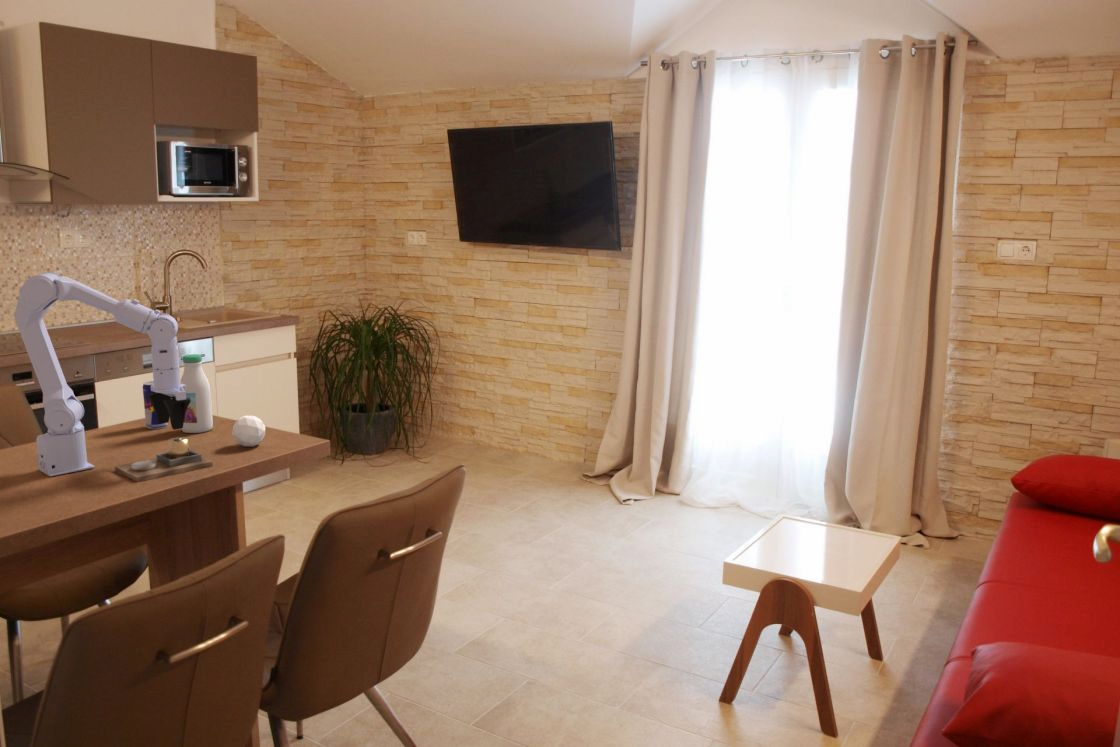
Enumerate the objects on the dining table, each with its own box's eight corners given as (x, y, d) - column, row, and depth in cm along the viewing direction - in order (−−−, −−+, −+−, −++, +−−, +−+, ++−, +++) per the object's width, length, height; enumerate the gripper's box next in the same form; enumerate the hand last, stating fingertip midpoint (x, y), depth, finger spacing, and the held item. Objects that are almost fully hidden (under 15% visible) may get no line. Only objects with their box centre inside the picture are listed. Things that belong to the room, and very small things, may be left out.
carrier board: (137, 482, 201) (136, 470, 201) (115, 470, 210) (114, 459, 209) (212, 465, 213) (211, 455, 213) (189, 455, 222) (188, 445, 221)
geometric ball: (258, 456, 231) (269, 434, 227) (226, 448, 227) (236, 426, 223) (260, 435, 236) (271, 413, 232) (228, 427, 233) (239, 405, 229)
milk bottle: (207, 425, 251) (202, 351, 247) (217, 430, 245) (212, 355, 241) (177, 429, 246) (171, 354, 242) (187, 435, 240) (181, 358, 236)
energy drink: (144, 430, 245) (140, 385, 243) (147, 425, 251) (144, 381, 248) (166, 428, 247) (162, 384, 245) (169, 423, 252) (165, 380, 250)
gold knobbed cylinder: (174, 464, 211) (172, 442, 210) (165, 460, 214) (164, 438, 213) (193, 460, 214) (191, 438, 213) (184, 457, 217) (183, 435, 216)
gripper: (197, 369, 210) (201, 428, 213) (170, 361, 220) (174, 417, 223) (166, 374, 205) (170, 433, 208) (139, 365, 215) (144, 422, 218)
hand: (170, 425), depth 215 cm, fingers open, 7 cm apart
